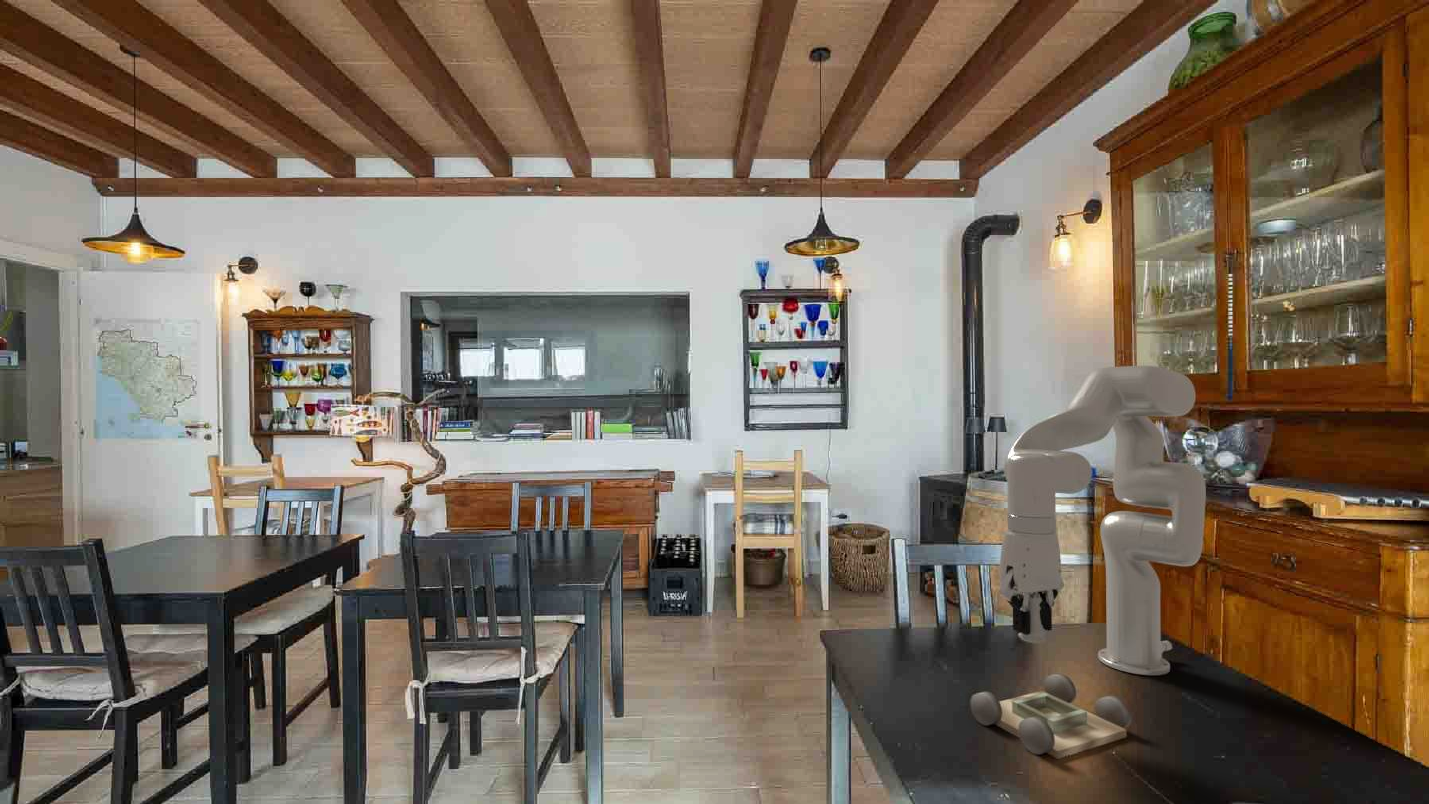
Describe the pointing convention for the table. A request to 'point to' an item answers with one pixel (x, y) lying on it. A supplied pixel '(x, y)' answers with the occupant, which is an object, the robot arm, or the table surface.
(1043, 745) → the car chassis
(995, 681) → the table surface
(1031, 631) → the rook chess piece
